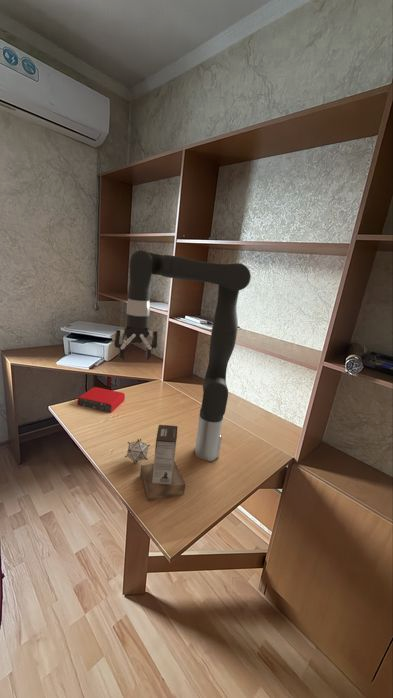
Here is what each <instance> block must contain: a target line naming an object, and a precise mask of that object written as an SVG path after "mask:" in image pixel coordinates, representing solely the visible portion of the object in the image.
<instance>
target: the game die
mask: <svg viewBox="0 0 393 698" xmlns="http://www.w3.org/2000/svg"><path fill="white" fill-rule="evenodd" d="M127 444H128V447H127V452H126V455H125V456H124V458H127V457H128V458H129V459H130V460H131V461H133V464H136V463H138V462H139V461H143V460H146V461H148V458H147V455H148V450H149V447H150V446H151V445H150V444H147V443H145V442H143V441H142V438H140V439H139V438H138V439H137V440H136V441H133V442H130V441H127Z"/></svg>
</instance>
